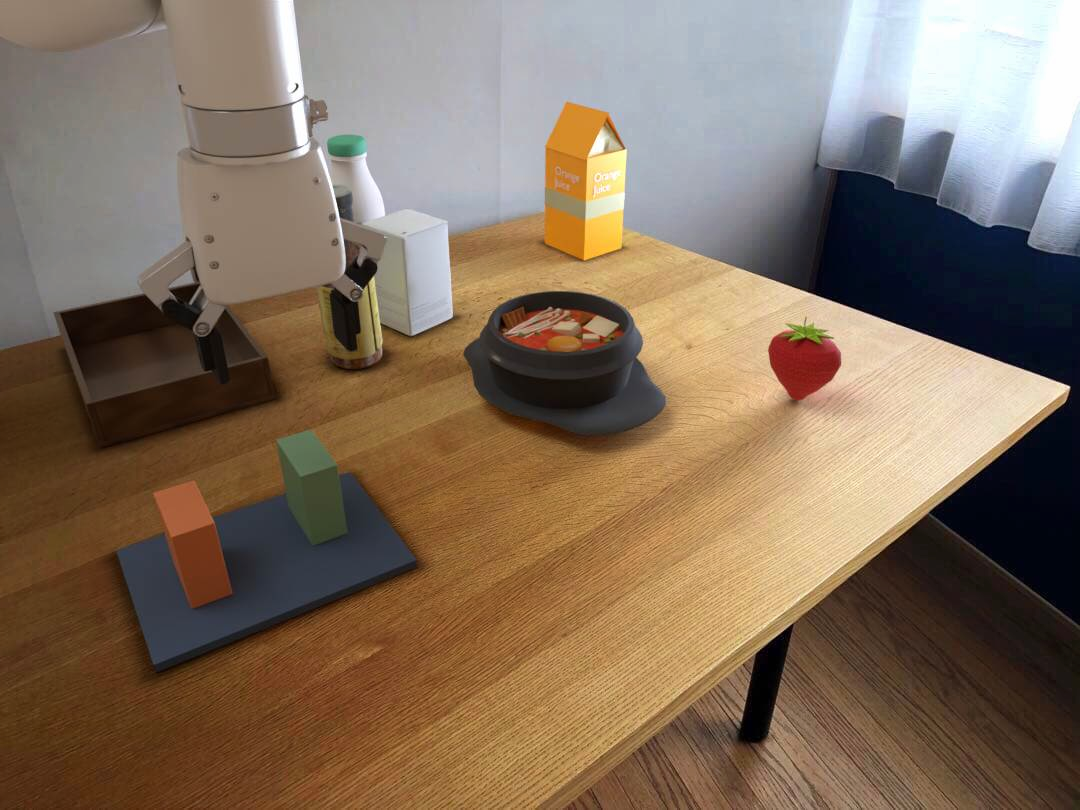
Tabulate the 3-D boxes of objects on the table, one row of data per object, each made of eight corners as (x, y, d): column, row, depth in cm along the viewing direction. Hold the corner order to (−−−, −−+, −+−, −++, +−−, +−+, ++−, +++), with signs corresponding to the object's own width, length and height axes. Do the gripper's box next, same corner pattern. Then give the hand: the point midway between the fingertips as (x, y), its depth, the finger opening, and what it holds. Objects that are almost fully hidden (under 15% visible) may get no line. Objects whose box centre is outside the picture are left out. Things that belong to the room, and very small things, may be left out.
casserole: (425, 369, 96) (419, 301, 92) (555, 324, 106) (556, 260, 101) (565, 476, 79) (567, 398, 75) (705, 411, 89) (714, 339, 84)
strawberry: (818, 424, 87) (836, 336, 82) (750, 399, 91) (763, 314, 86) (841, 400, 91) (860, 315, 86) (775, 377, 95) (789, 294, 90)
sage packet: (312, 546, 70) (300, 476, 66) (288, 507, 74) (275, 439, 70) (347, 533, 71) (337, 464, 67) (321, 495, 75) (311, 428, 72)
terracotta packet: (192, 609, 64) (171, 537, 60) (173, 562, 68) (152, 492, 64) (232, 594, 65) (214, 522, 61) (212, 549, 69) (193, 479, 66)
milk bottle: (373, 274, 118) (358, 126, 108) (403, 293, 113) (390, 139, 103) (323, 289, 114) (301, 137, 104) (351, 309, 109) (332, 150, 99)
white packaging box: (455, 318, 107) (450, 220, 100) (409, 338, 102) (401, 237, 96) (415, 301, 111) (408, 206, 105) (370, 319, 107) (359, 222, 100)
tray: (100, 448, 83) (86, 404, 80) (65, 351, 99) (53, 312, 97) (275, 398, 91) (268, 357, 88) (216, 316, 107) (208, 279, 105)
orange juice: (582, 231, 133) (586, 97, 122) (622, 248, 127) (630, 108, 117) (543, 243, 129) (544, 105, 118) (583, 261, 123) (588, 117, 112)
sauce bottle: (354, 341, 102) (333, 175, 91) (395, 354, 99) (378, 184, 89) (315, 364, 97) (288, 192, 86) (357, 379, 94) (335, 202, 84)
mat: (156, 673, 60) (153, 665, 59) (118, 557, 70) (115, 549, 69) (417, 567, 69) (416, 559, 68) (351, 478, 79) (350, 471, 78)
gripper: (352, 100, 62) (372, 314, 71) (93, 130, 54) (153, 367, 63) (396, 124, 57) (411, 352, 66) (115, 160, 49) (177, 414, 58)
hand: (285, 359), depth 65 cm, fingers open, 9 cm apart
